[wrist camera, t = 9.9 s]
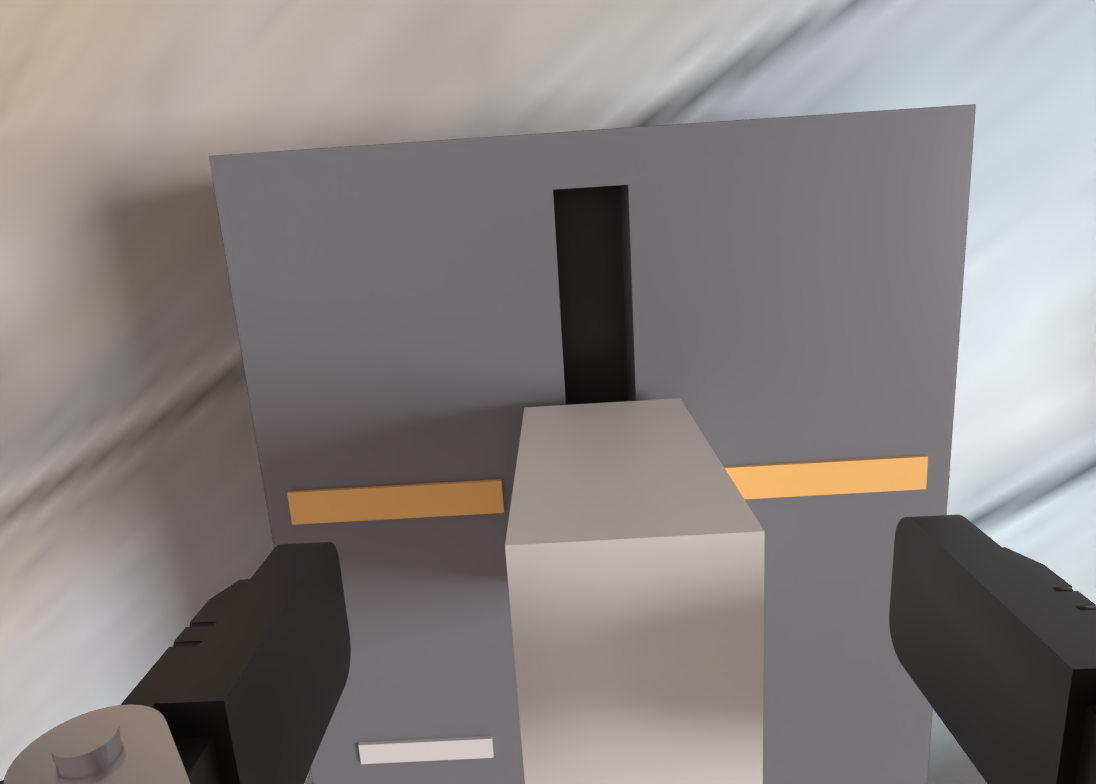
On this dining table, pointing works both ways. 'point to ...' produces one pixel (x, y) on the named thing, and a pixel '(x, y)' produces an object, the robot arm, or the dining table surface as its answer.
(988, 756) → the robot arm
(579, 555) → the fader knob
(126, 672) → the dining table surface
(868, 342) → the slider control panel
